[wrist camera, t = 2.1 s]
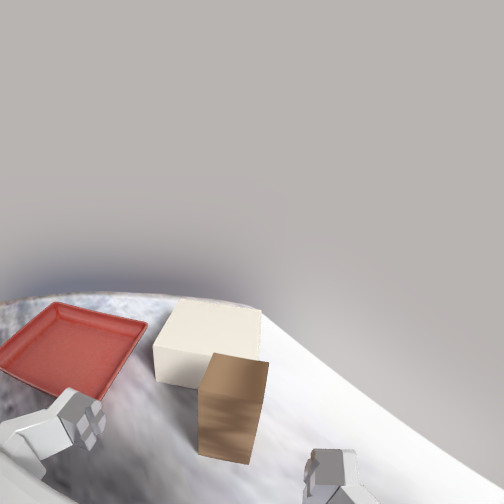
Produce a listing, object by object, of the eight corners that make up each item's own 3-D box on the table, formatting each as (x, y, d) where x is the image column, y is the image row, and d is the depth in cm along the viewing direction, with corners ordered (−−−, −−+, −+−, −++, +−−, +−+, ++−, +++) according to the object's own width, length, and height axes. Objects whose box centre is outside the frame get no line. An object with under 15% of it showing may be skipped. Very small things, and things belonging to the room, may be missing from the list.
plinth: (156, 382, 33) (152, 345, 32) (179, 332, 45) (180, 298, 43) (252, 398, 33) (258, 362, 31) (256, 343, 45) (261, 310, 43)
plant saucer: (-7, 377, 25) (-15, 358, 24) (57, 316, 42) (54, 299, 41) (100, 429, 24) (93, 410, 23) (151, 340, 42) (150, 322, 40)
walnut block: (198, 454, 24) (197, 389, 21) (210, 420, 29) (213, 352, 26) (248, 464, 24) (262, 402, 20) (255, 429, 28) (269, 362, 25)
